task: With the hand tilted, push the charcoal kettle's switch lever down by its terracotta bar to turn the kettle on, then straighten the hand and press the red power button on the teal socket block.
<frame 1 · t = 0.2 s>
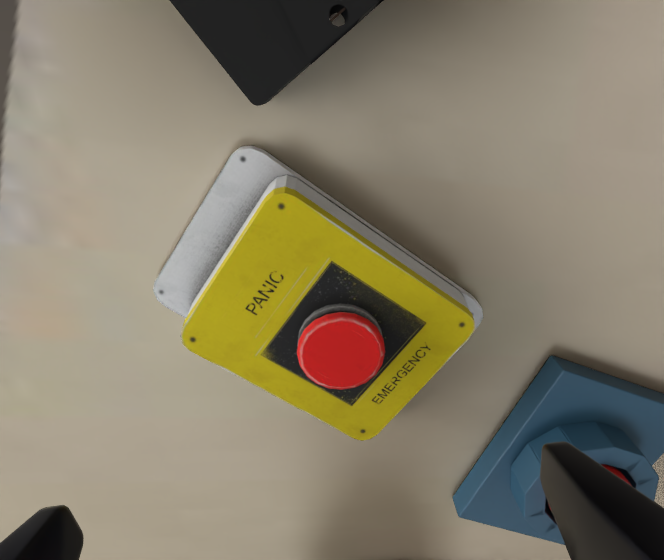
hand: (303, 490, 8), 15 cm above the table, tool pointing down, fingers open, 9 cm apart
emergency button: (322, 296, 23), on the table
socket block: (559, 450, 28), on the table
power button: (594, 505, 24), point 4 cm above the table, slide at 0.1 cm
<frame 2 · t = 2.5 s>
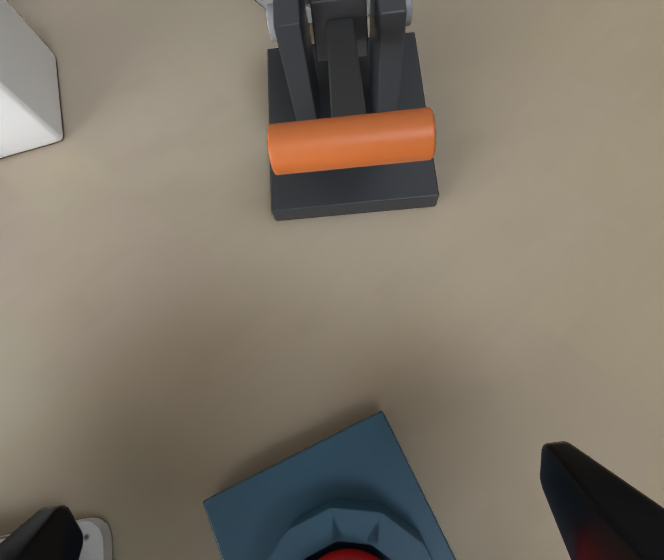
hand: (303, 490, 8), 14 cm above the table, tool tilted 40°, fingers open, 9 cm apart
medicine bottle: (11, 114, 29), on the table
kettle switch: (343, 64, 16), point 9 cm above the table, hinge at 18.0°
switch base: (347, 130, 26), on the table
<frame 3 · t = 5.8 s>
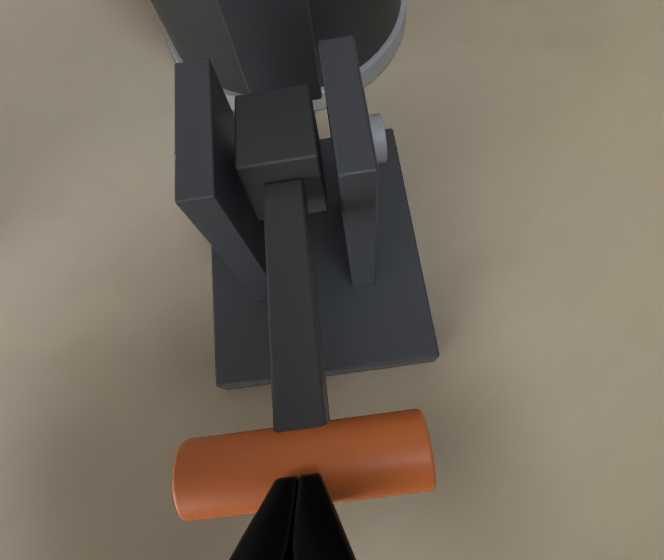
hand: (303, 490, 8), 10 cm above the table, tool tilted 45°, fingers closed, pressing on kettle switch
kettle switch: (291, 270, 11), point 9 cm above the table, hinge at 7.9°, touching gripper
switch base: (315, 257, 20), on the table
kettle: (287, 20, 26), on the table
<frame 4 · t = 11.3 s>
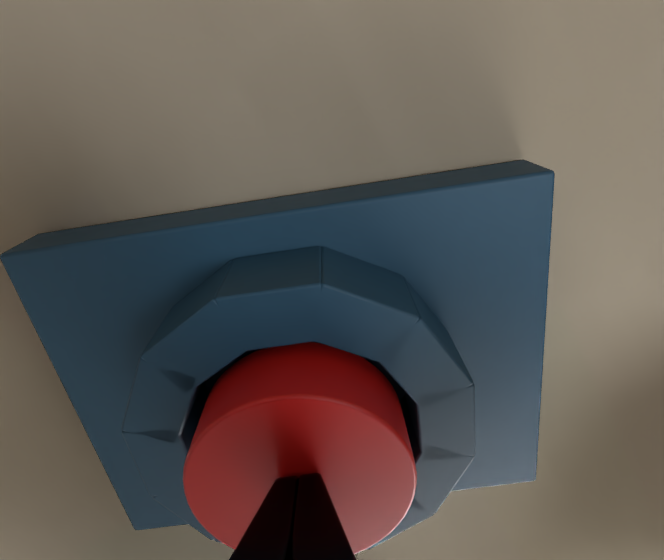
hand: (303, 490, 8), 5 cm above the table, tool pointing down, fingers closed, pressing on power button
socket block: (307, 351, 12), on the table
power button: (302, 454, 9), point 4 cm above the table, slide at -0.1 cm, touching gripper
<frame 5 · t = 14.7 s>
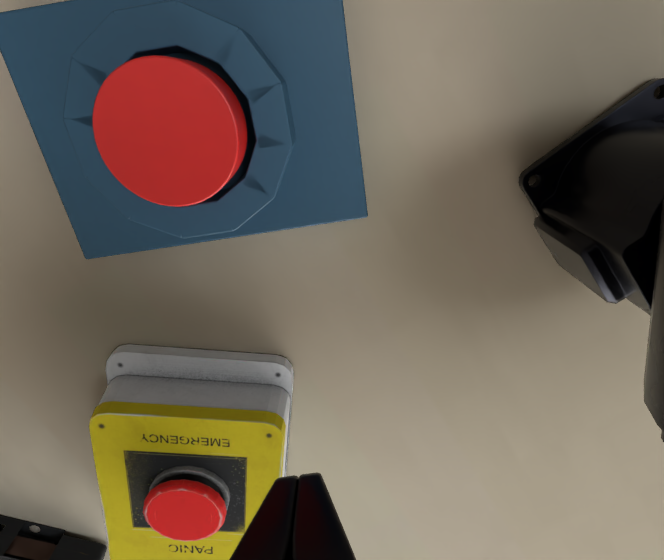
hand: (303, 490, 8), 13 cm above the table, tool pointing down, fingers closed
emergency button: (206, 457, 25), on the table
socket block: (204, 122, 18), on the table
power button: (174, 133, 14), point 4 cm above the table, slide at 0.1 cm
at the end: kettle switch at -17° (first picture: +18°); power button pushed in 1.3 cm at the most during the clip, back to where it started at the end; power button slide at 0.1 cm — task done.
